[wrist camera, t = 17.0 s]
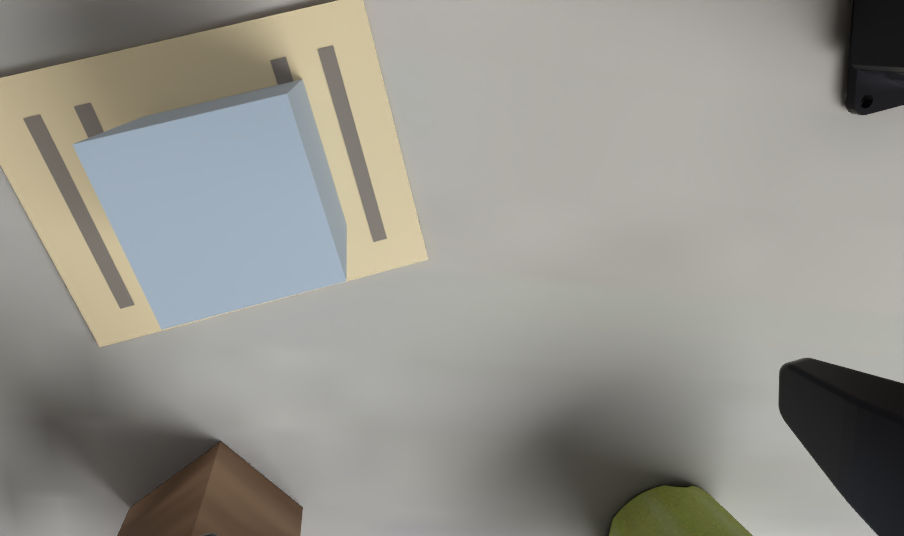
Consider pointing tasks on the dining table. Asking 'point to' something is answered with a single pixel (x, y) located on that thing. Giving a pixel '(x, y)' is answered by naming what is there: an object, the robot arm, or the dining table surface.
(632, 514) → the plant pot
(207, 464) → the wooden cuboid post
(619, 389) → the dining table surface
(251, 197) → the slate cube
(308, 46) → the letter
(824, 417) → the robot arm
